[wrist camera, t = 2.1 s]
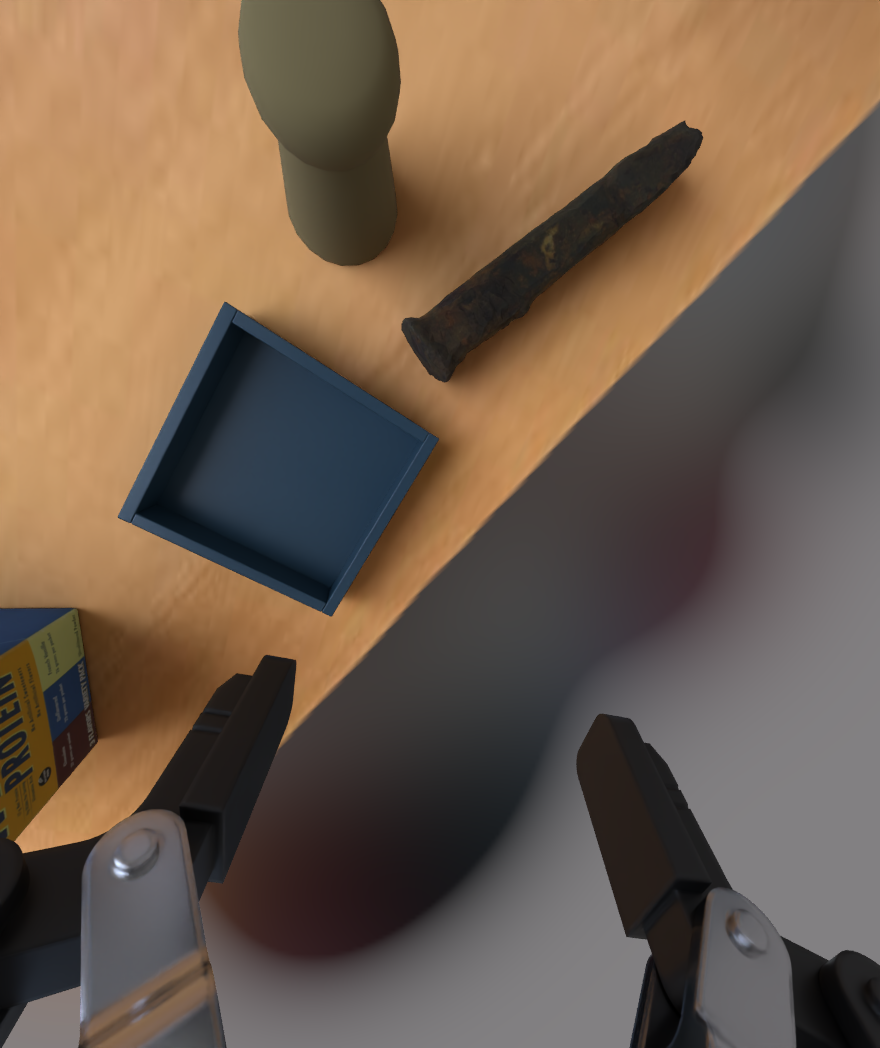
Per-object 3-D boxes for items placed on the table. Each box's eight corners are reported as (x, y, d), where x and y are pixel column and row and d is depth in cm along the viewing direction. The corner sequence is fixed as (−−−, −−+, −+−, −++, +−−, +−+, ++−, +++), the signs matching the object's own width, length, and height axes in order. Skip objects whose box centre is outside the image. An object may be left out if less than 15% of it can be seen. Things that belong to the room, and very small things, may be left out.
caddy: (145, 505, 25) (116, 517, 22) (242, 314, 23) (224, 301, 20) (335, 596, 29) (331, 617, 26) (432, 436, 27) (439, 438, 24)
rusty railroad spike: (432, 389, 26) (445, 384, 22) (395, 331, 25) (401, 313, 20) (678, 213, 26) (742, 171, 21) (653, 145, 24) (715, 86, 20)
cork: (353, 290, 24) (337, 192, 13) (262, 205, 22) (163, 17, 12) (419, 203, 23) (456, 29, 13) (331, 110, 22) (291, -180, 11)
